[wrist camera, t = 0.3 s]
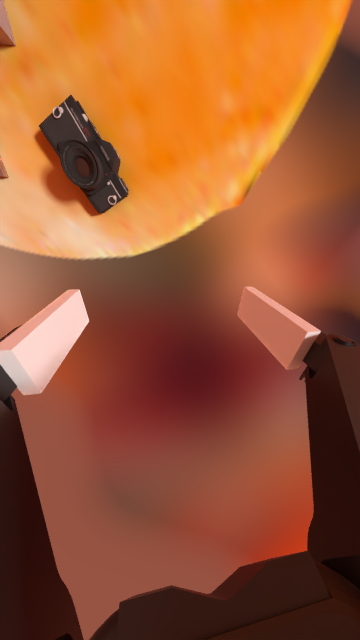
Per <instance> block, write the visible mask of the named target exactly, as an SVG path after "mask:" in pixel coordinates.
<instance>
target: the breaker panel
mask: <svg viewBox="0 0 360 640" xmlns="http://www.w3.org/2000/svg"><path fill="white" fill-rule="evenodd" d="M0 177H8V175H7V172H6V170H5V167H4V165H3V162H2V160H1V157H0Z"/></svg>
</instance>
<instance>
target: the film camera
mask: <svg viewBox="0 0 360 640" xmlns="http://www.w3.org/2000/svg"><path fill="white" fill-rule="evenodd" d="M56 108H57V109H56ZM55 109H56V110H55ZM54 110H55V111H54ZM87 120H88V121H87ZM88 122H89V123H88ZM39 127H40V129H41V131H42V132H43V134H44V135H45V137H46V138H47V140H48V141H49V143H50V144H51V145H52V147H53V148H54V150H55V151H56V153H57V154H58V156H59V157H60V160H61V165H62V168H63V170H64V172H65V174H66V175H67V177H68V178H69V179H70V180H71V181H72V182H73V183H74V184H76V185H77V186H79V187H80V188H81V189H82V191H83V192H84V193H85V195H86V196H87V197H88V199H89V200H90V202H91V203H92V205H93V206H94V208H95V209H96V210H97V211H98V213H104V212H106V211H107V210H109V209H110V208H111V207H113V206H114V205H115V204H117V203H118V202H120V201H121V200H122V199H124V198H125V197H127V195H128V188H127V186H126V185H125V183H124V181H123V180H122V178H120V177H119V176H118V171H119V166H120V157H119V155H117V153H116V152H117V151H116V150H115V148H113V146H112V145H111V143H109V142H106V141H104V140H102V139H101V137H100V135H99V133H98V132H97V130H96V128H95V126H94V125H93V123H92V122H90V120H89V119H88V117H87V115H86V114H85V112H84V110H83V108H82V106H81V105H80V103H79V102H78V101H77V102H76V101H75V99H74V98H73V97H72V95H70V96H69V97H68V98H67V99H66V100H65V101H64V102H63V103H62V104H61V105H60V106H59V107H58V106H57V107H55V108H54V109H53V112H52V113H51V114H50V115H49V116H48V117H47V118H46V119H45V120H44V121H43V122H42V123H41V124H40V125H39Z"/></svg>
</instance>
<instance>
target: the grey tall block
mask: <svg viewBox="0 0 360 640" xmlns="http://www.w3.org/2000/svg"><path fill="white" fill-rule="evenodd" d="M0 43H1V44H7V45H12V46H16V44H15V41H14V37H13V34H12V30H11V27H10V23H9V20H8V16H7V13H6V9H5V6H4V2H3V0H0Z"/></svg>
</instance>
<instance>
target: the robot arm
mask: <svg viewBox="0 0 360 640" xmlns="http://www.w3.org/2000/svg"><path fill="white" fill-rule="evenodd" d="M237 315H238V316H239V317H240V319H241V320H242V321H243V322H244V323H245V324H246V325H247V327H248V328H249V329H250V330H251V331H252V332H253V333H254V334H255V335H256V336H257V338H258V339H259V340H260V341H261V342H262V343H263V344H264V345H265V346H266V348H267V349H268V350H269V351H270V352H271V353H272V354H273V355H274V356H275V358H276V359H277V360H278V361H279V362H280V363H281V364H282V365H283V366H284V368H285V369H286V370H291V369H298V368H299V367H300V365H301V363H302V362H304V363H306V364H307V367H306V368H305V370H304V371H303V373H302V375H301V376H300V380H302V378H304V377H305V383H306V398H307V413H308V428H309V441H310V442H309V443H310V457H311V473H312V488H313V503H314V513H313V518H312V521H311V524H310V527H309V531H308V541H307V542H308V543H307V548H308V551H304V552H299V553H295V554H290V555H285V556H280V557H275V558H271V559H267V560H263V561H259V562H256V563H252V564H248V565H245V566H241V567H239V568H238V569H237V570H236V571H235V572H234V573H233V574H232V575H231V576H229V577H228V578H227V579H226V580H225V581H224V582H223V583H222V584H221V585H220V586H219V587H217V588H216V589H215V590H214V591H213V592H212V593H210V594H205V593H201V592H196V591H192V590H188V589H184V588H180V587H176V586H167V587H164V588H160V589H156V590H153V591H150V592H145V593H142V594H138V595H135V596H133V597H130V598H128V599H126V600H124V601H122V602H120V605H119V609H118V610H117V611H115V612H114V613H113V614H112V615H111V616H110V617H109V618H108V619H107V620H106V621H105V622H104V623H103V624H102V625H101V626H100V627H99V628H98V629H97V631H96V632H95V633H94V634H93V636H92V637H91V638H90V640H360V346H359V345H358V344H357V343H356V342H355V341H353V340H351V339H349V338H347V337H344V336H341V335H337V334H328V335H326V334H324V333H323V332H321V331H320V330H318V329H317V328H315V327H314V326H312V325H311V324H309V323H308V322H306V321H304V320H303V319H301V318H300V317H298V316H297V315H295V314H294V313H292V312H291V311H289V310H288V309H286V308H284V307H283V306H281V305H280V304H278V303H277V302H275V301H274V300H272V299H271V298H269V297H267V296H266V295H264V294H263V293H261V292H260V291H258V290H257V289H255V288H254V287H244V290H243V294H242V298H241V301H240V305H239V310H238V313H237ZM88 322H89V319H88V316H87V313H86V309H85V306H84V303H83V299H82V296H81V293H80V290H67V291H66V292H65V293H63V294H62V295H61V296H59V297H58V298H57V299H56V300H54V301H53V302H52V303H50V304H49V305H48V306H47V307H45V308H44V309H43V310H41V311H40V312H39V313H38V314H36V315H35V316H34V317H32V318H31V319H30V320H28V321H27V322H26V323H25V324H23V325H21V326H19V327H17V328H15V329H13V330H12V331H11V332H9V333H8V334H7V335H5V336H4V337H3V338H2V339H0V640H84V639H83V636H82V632H81V629H80V625H79V621H78V617H77V614H76V611H75V607H74V603H73V600H72V597H71V595H70V593H69V591H68V589H67V587H66V585H65V584H64V582H63V581H62V579H61V577H60V575H59V573H58V570H57V566H56V563H55V559H54V555H53V551H52V547H51V543H50V539H49V535H48V531H47V527H46V523H45V519H44V515H43V511H42V507H41V503H40V499H39V495H38V491H37V487H36V483H35V479H34V475H33V471H32V467H31V463H30V459H29V455H28V451H27V447H26V443H25V439H24V435H23V431H22V427H21V423H20V419H19V415H18V411H17V407H16V403H15V399H14V398H13V397H12V396H11V394H12V392H13V391H14V390H15V389H16V388H18V389H19V390H20V392H22V394H23V395H29V394H40V393H42V391H43V390H44V388H45V387H46V385H47V384H48V382H49V381H50V379H51V378H52V376H53V375H54V373H55V372H56V370H57V369H58V367H59V366H60V364H61V363H62V361H63V360H64V358H65V357H66V355H67V353H68V352H69V351H70V349H71V348H72V346H73V345H74V343H75V342H76V340H77V338H78V337H79V336H80V334H81V333H82V331H83V329H84V328H85V327H86V325H87V324H88Z"/></svg>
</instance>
